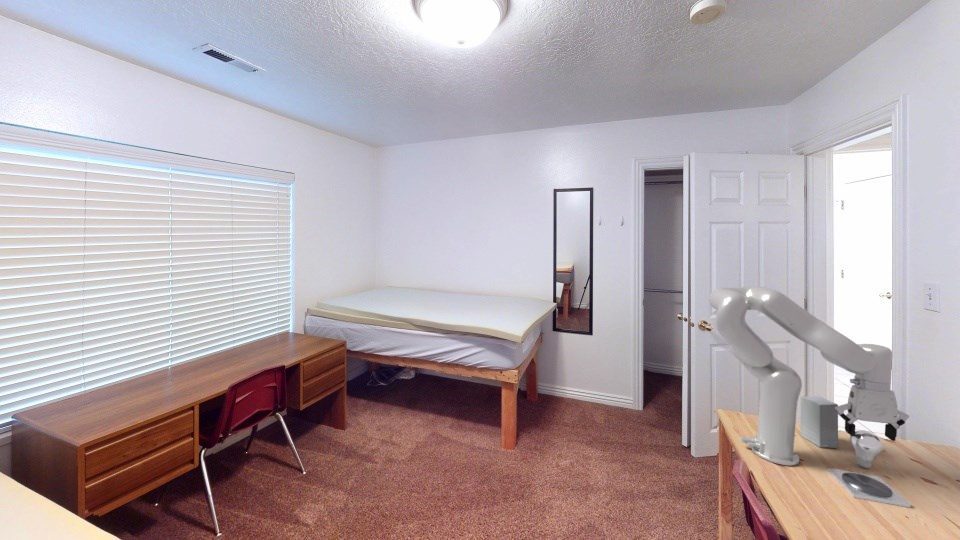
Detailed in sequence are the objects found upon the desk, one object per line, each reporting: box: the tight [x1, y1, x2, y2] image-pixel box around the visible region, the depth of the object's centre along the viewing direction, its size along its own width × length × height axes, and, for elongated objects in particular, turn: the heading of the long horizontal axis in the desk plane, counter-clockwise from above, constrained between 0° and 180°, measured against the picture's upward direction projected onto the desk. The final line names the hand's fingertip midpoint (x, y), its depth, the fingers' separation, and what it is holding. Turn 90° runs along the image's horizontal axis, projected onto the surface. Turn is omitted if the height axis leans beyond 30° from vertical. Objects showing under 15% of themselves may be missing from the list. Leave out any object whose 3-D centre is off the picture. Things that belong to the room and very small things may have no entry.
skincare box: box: [800, 395, 839, 449], centre depth 126 cm, size 8×7×16 cm
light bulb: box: [849, 429, 883, 469], centre depth 112 cm, size 7×7×12 cm
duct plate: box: [827, 467, 912, 508], centre depth 103 cm, size 12×12×1 cm
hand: (869, 436), depth 111 cm, fingers open, 9 cm apart
